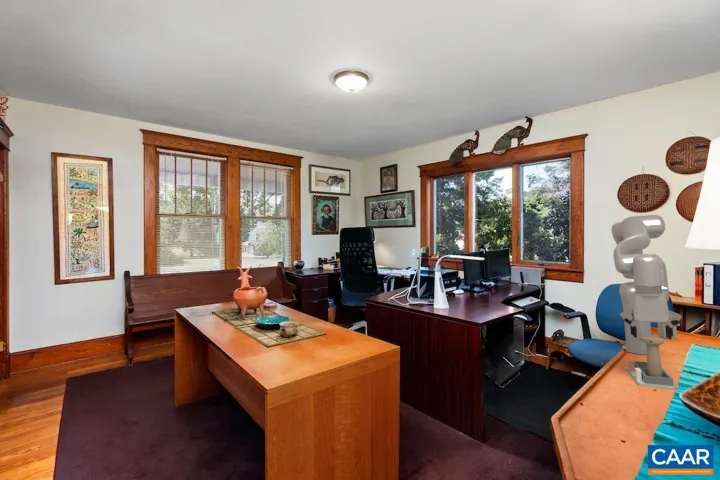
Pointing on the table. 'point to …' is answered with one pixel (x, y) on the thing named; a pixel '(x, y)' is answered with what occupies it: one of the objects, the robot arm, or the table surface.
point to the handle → (653, 355)
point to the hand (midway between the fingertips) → (651, 337)
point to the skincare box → (663, 331)
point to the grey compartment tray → (644, 379)
